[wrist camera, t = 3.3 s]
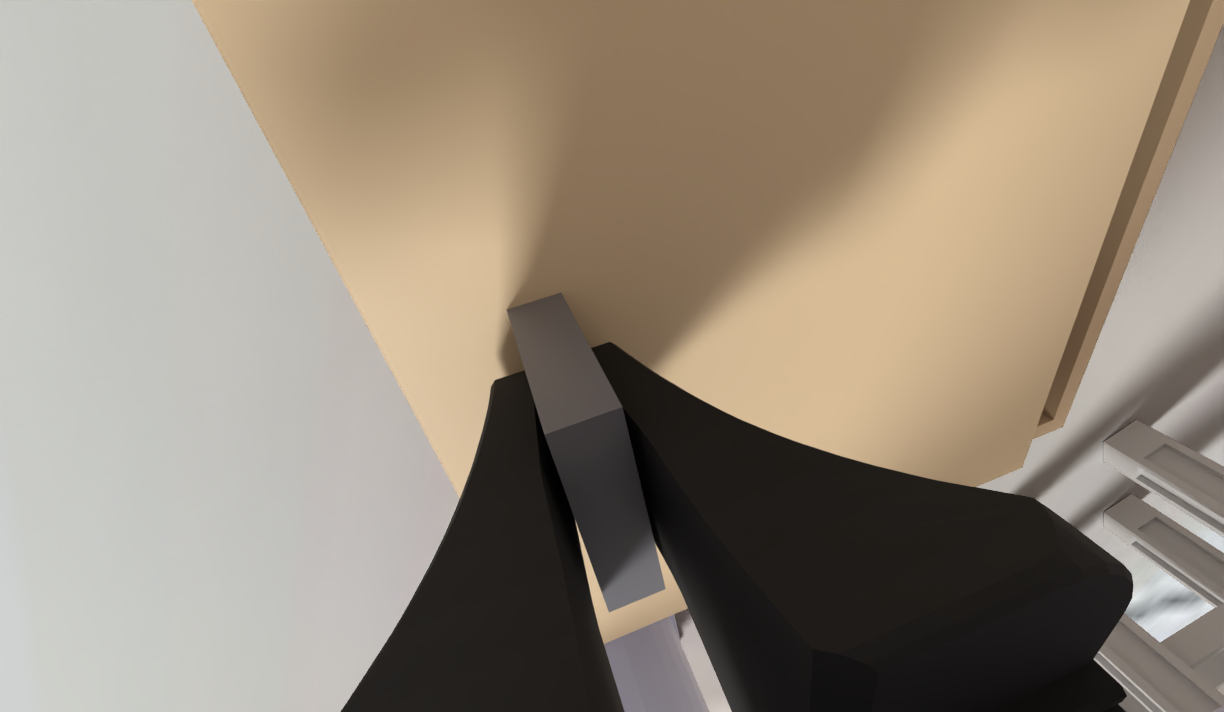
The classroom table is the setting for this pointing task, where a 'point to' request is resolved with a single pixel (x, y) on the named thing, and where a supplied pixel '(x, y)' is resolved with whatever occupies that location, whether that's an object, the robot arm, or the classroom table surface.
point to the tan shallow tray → (1135, 200)
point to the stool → (1214, 643)
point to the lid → (710, 215)
